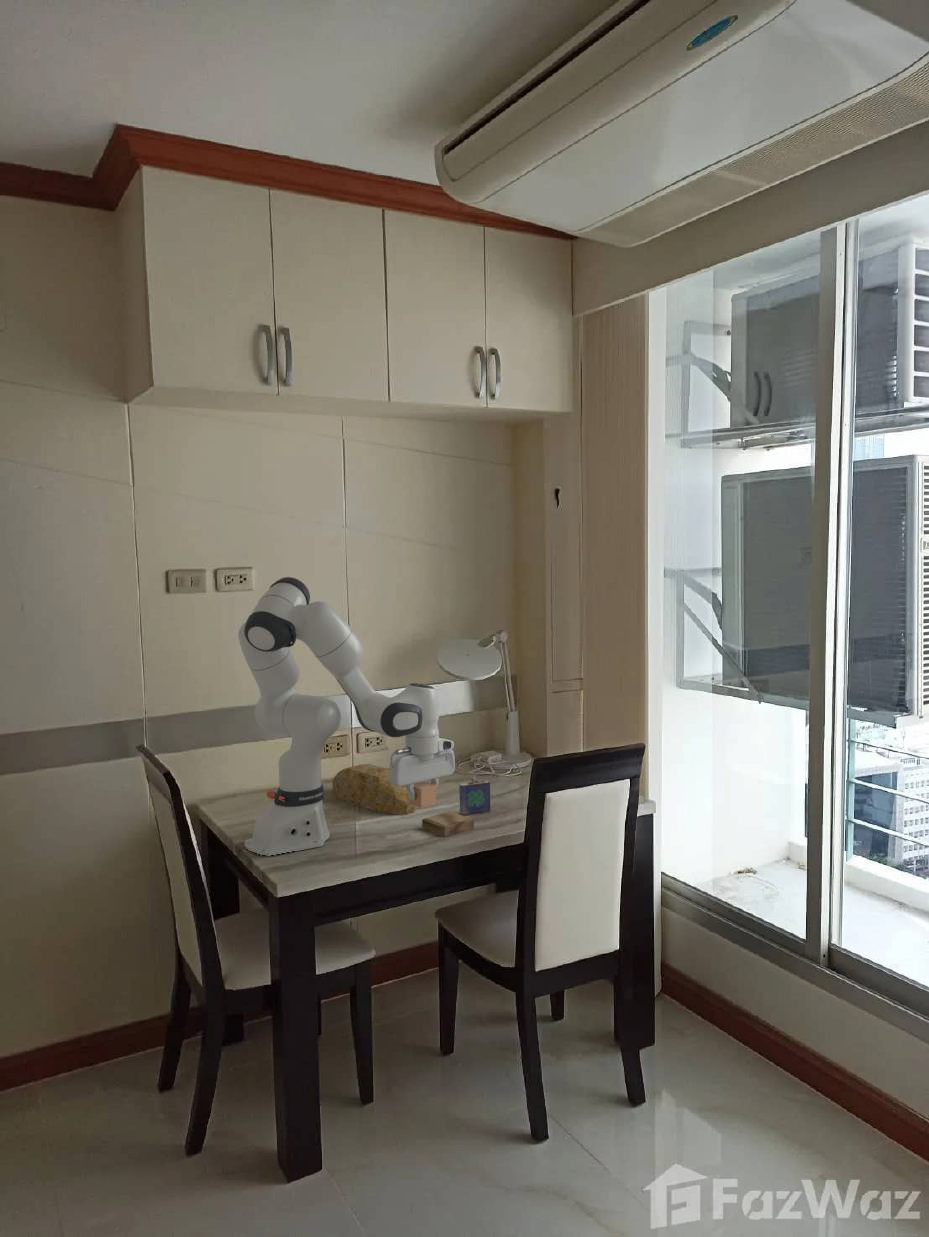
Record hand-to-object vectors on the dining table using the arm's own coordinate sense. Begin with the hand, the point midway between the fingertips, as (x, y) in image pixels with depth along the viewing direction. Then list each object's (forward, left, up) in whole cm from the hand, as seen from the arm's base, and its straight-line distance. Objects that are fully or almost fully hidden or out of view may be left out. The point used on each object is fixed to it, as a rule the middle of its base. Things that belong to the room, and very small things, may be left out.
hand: (422, 796), depth 243 cm
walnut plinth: (+10, +3, -12) cm, 16 cm away
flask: (+24, +8, -12) cm, 28 cm away
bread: (+10, +38, -12) cm, 41 cm away
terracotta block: (0, 0, -2) cm, 2 cm away
